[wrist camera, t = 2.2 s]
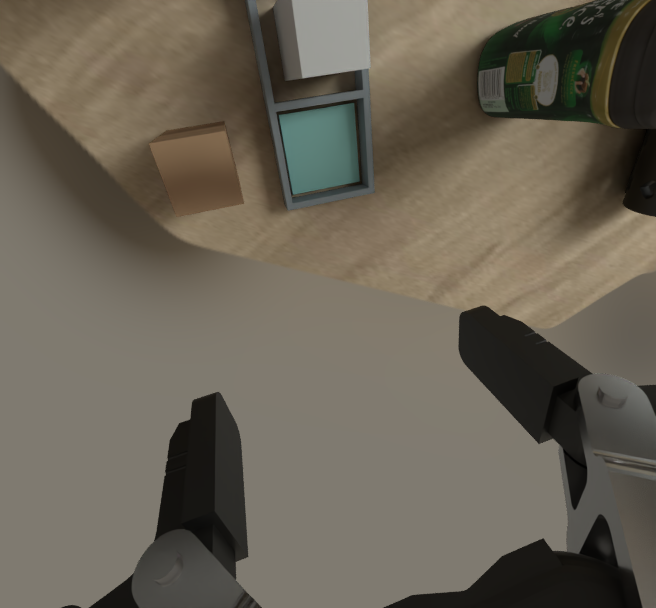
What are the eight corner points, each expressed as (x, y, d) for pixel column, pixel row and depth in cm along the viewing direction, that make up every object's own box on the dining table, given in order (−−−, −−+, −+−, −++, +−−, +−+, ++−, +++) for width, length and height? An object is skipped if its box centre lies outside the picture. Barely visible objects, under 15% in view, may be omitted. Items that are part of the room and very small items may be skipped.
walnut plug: (166, 130, 30) (148, 143, 23) (224, 121, 31) (225, 131, 23) (186, 188, 33) (176, 217, 25) (238, 178, 34) (244, 203, 26)
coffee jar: (561, 4, 33) (855, -71, 18) (552, 97, 37) (780, 101, 22) (470, 34, 32) (695, -17, 17) (472, 125, 37) (651, 149, 22)
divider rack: (239, -26, 26) (246, -65, 20) (354, -37, 28) (396, -78, 21) (284, 205, 36) (299, 230, 29) (367, 188, 37) (399, 209, 31)
